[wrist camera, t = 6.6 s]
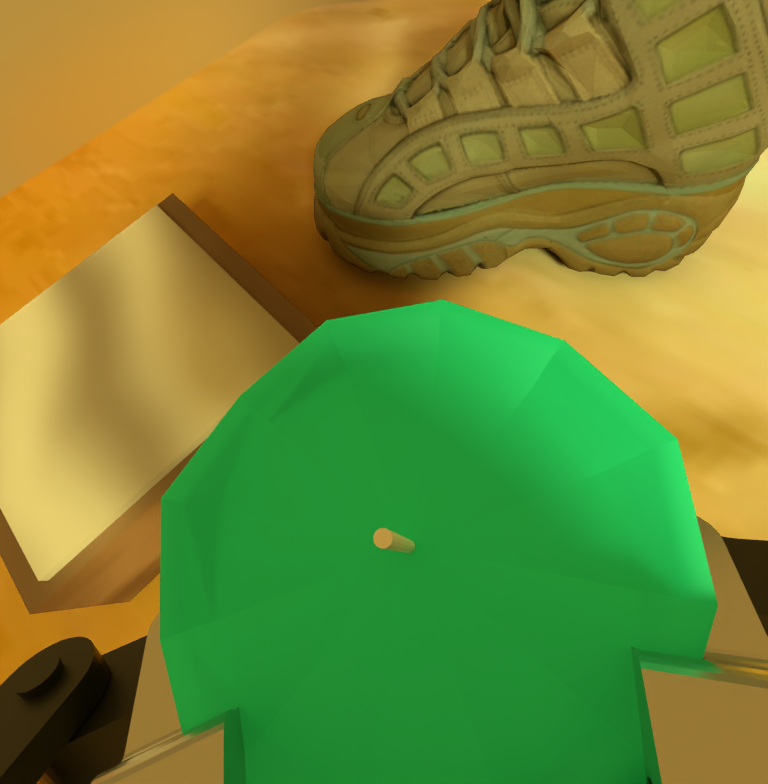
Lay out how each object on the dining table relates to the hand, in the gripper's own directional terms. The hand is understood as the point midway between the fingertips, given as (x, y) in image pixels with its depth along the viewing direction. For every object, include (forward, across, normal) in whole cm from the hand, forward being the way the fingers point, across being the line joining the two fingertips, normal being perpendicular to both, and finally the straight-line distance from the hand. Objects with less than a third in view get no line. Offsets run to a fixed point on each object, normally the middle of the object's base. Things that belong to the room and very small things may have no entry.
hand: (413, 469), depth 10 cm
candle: (+2, 0, +5) cm, 6 cm away
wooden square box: (+12, +12, +2) cm, 17 cm away
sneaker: (+17, -7, -3) cm, 19 cm away
